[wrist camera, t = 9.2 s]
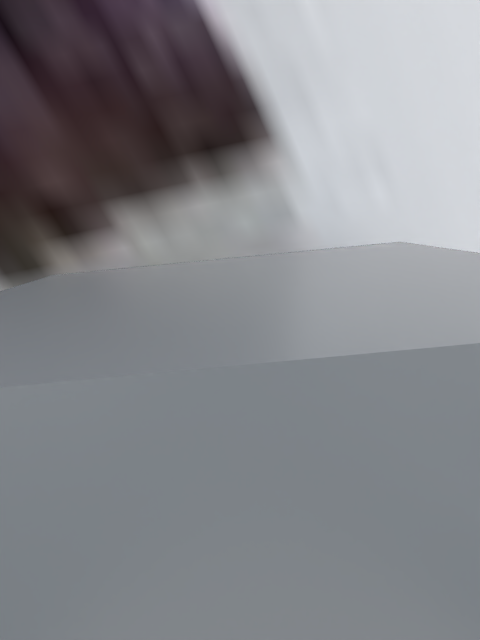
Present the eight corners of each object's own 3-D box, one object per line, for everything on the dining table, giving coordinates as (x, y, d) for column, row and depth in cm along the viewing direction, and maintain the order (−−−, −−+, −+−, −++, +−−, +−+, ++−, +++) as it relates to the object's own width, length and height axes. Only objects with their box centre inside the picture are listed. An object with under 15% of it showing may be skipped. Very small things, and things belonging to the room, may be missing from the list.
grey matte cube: (53, 275, 12) (-439, 428, 3) (400, 241, 12) (862, 308, 3) (113, 558, 14) (-70, 1065, 6) (398, 533, 14) (648, 1016, 6)
